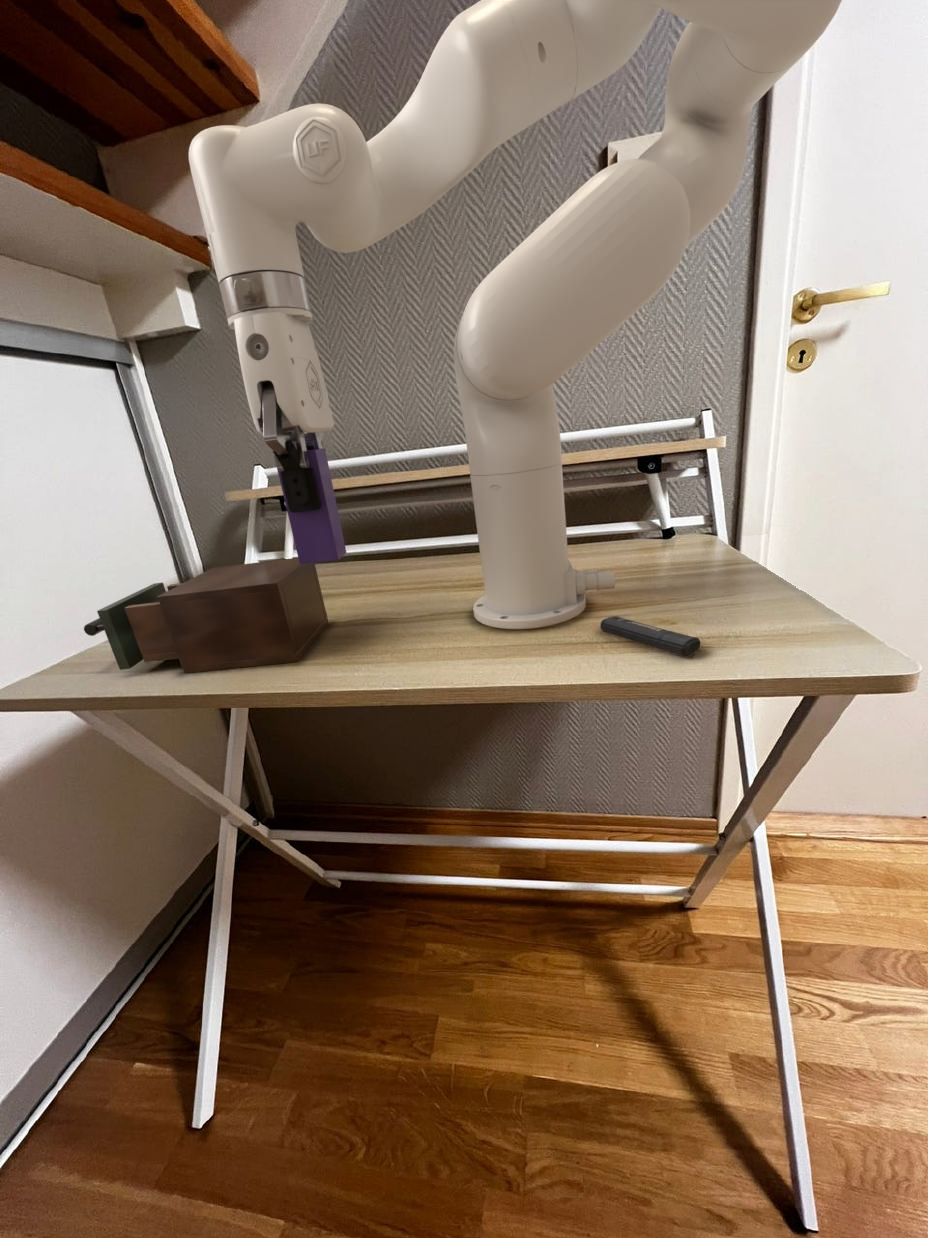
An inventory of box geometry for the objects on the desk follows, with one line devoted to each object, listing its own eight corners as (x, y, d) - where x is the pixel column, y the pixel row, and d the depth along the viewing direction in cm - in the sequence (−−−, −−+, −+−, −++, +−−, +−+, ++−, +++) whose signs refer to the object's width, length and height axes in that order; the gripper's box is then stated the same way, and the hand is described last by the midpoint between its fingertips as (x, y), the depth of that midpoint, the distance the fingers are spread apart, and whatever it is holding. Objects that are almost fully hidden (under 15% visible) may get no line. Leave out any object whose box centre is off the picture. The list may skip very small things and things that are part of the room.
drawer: (86, 673, 58) (62, 614, 56) (142, 638, 67) (123, 587, 65) (220, 659, 56) (201, 598, 54) (259, 625, 66) (244, 572, 63)
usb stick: (704, 651, 45) (704, 634, 45) (685, 661, 44) (685, 644, 44) (616, 626, 53) (615, 611, 52) (597, 634, 52) (597, 619, 51)
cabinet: (183, 673, 57) (157, 596, 54) (232, 634, 67) (211, 567, 64) (297, 661, 55) (276, 582, 52) (329, 623, 66) (313, 555, 63)
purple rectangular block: (346, 552, 58) (325, 447, 55) (338, 560, 55) (315, 449, 52) (309, 557, 59) (285, 453, 55) (299, 564, 56) (273, 455, 52)
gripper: (272, 277, 41) (323, 517, 47) (333, 316, 56) (366, 493, 63) (180, 293, 42) (242, 526, 48) (265, 327, 57) (304, 500, 63)
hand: (312, 505), depth 55 cm, fingers closed on purple rectangular block, 3 cm apart
